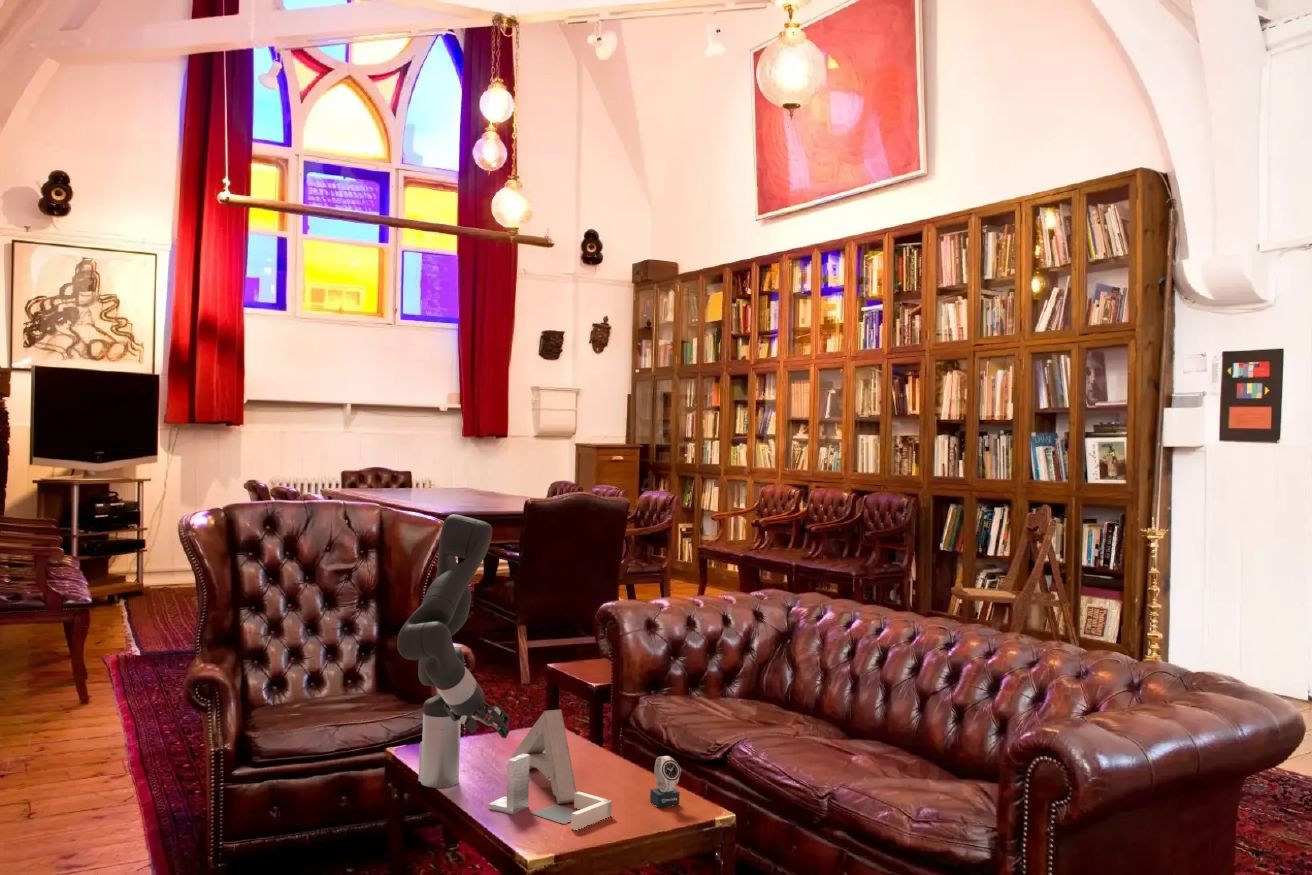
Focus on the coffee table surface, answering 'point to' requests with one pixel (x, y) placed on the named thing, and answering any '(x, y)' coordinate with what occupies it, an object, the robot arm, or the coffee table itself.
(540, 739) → the letter a
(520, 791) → the angle bracket
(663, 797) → the watch
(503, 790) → the coffee table surface
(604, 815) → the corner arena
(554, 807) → the mat
